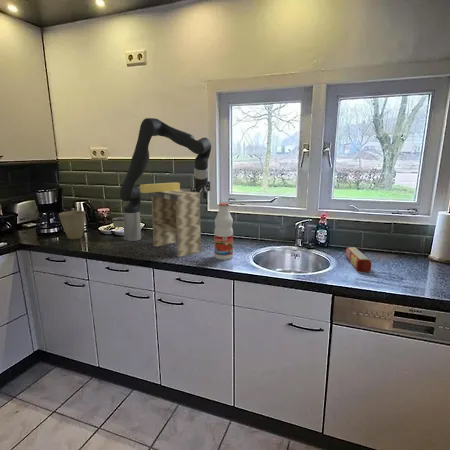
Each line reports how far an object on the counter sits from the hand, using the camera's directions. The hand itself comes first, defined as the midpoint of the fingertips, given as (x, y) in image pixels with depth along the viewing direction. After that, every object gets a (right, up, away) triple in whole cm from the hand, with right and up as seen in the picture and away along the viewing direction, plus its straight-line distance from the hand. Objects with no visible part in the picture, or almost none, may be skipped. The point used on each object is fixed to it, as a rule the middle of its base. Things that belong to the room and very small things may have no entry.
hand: (200, 201), depth 180 cm
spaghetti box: (-21, +5, -9) cm, 23 cm away
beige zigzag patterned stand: (-13, -27, -3) cm, 30 cm away
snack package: (+78, -33, -27) cm, 89 cm away
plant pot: (-80, -22, +18) cm, 85 cm away
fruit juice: (+13, -30, -17) cm, 37 cm away
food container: (-54, -19, +32) cm, 66 cm away
